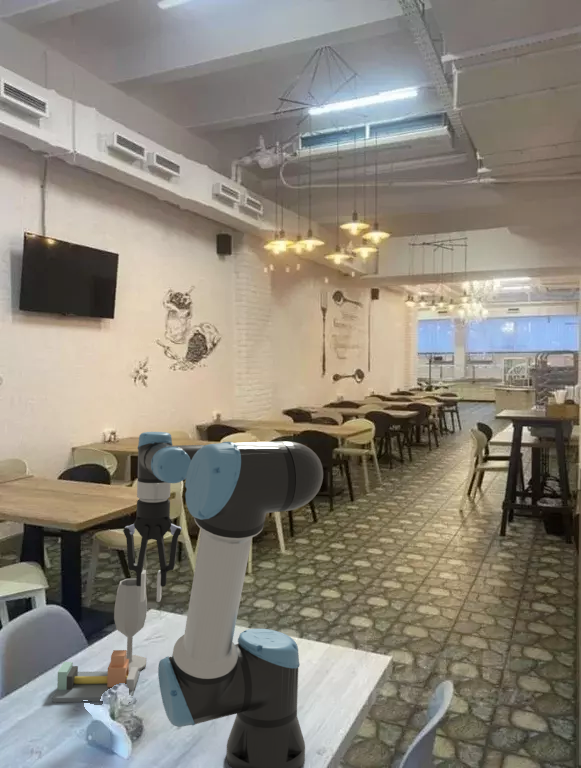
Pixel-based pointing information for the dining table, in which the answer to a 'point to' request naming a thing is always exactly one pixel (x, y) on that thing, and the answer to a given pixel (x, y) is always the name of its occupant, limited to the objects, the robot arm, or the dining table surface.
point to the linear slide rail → (87, 684)
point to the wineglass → (130, 617)
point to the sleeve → (118, 668)
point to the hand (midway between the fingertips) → (151, 599)
